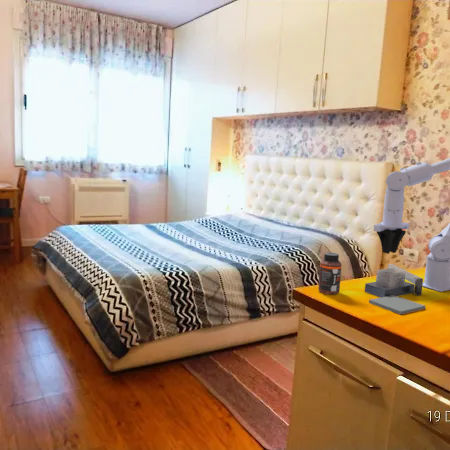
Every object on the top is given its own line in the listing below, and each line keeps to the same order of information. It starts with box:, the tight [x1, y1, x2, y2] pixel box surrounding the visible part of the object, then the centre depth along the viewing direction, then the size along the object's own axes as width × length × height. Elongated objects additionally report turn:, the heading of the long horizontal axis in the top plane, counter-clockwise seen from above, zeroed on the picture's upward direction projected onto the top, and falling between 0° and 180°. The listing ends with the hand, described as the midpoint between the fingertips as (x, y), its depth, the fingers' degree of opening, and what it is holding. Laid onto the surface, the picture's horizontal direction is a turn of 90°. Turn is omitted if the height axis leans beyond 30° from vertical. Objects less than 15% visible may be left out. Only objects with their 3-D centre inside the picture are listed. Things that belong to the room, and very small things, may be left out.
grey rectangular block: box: [375, 267, 407, 288], centre depth 129 cm, size 7×4×4 cm, turn 122°
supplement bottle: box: [318, 252, 342, 295], centre depth 127 cm, size 6×6×11 cm
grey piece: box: [364, 281, 415, 298], centre depth 130 cm, size 13×7×2 cm, turn 122°
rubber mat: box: [368, 295, 426, 315], centre depth 118 cm, size 10×10×1 cm
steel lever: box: [387, 263, 424, 296], centre depth 136 cm, size 2×18×5 cm, turn 7°
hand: (389, 252), depth 141 cm, fingers open, 3 cm apart
